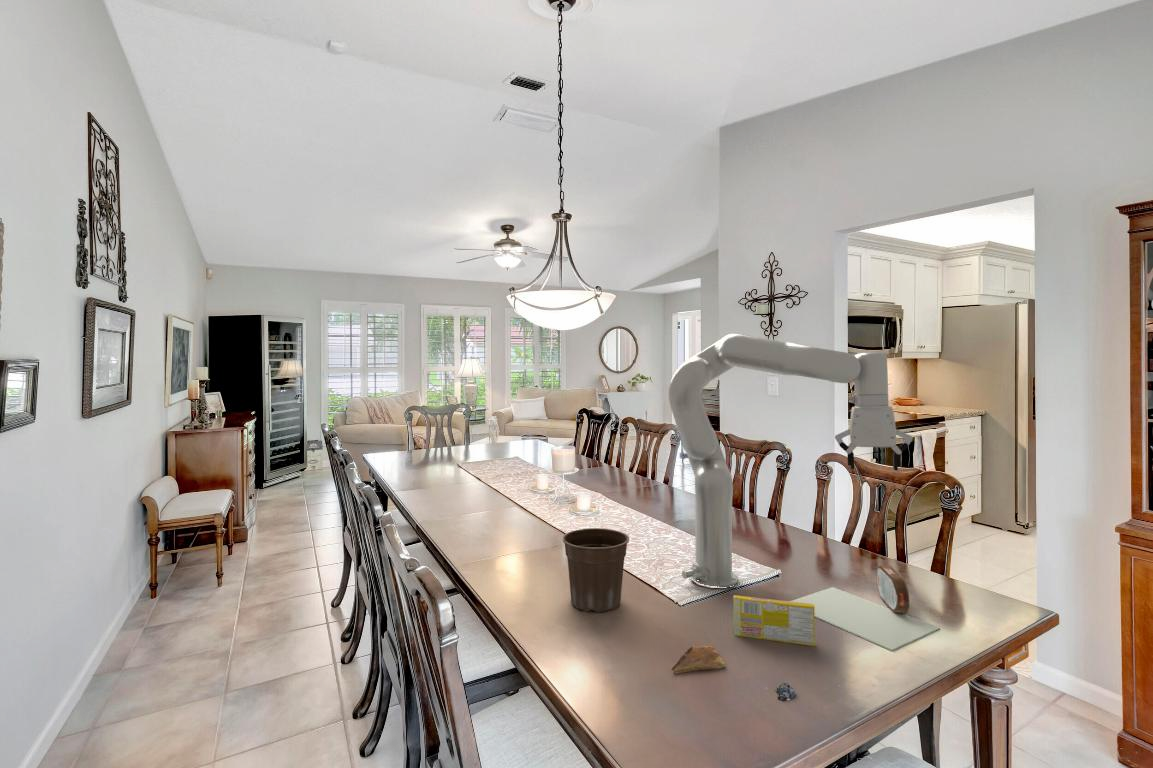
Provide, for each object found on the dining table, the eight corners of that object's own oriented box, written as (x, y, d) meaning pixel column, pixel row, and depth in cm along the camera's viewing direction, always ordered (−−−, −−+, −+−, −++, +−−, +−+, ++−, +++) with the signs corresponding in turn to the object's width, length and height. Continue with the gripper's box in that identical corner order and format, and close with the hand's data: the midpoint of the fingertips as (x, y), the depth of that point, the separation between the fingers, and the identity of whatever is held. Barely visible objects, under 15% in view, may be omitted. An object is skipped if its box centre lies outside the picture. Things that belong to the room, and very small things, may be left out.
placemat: (891, 651, 113) (891, 649, 113) (785, 604, 136) (785, 602, 136) (940, 628, 122) (940, 627, 122) (832, 588, 145) (832, 587, 145)
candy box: (814, 642, 117) (814, 603, 117) (815, 647, 115) (815, 607, 115) (733, 631, 123) (733, 593, 122) (733, 635, 121) (733, 597, 120)
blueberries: (761, 705, 98) (761, 695, 97) (763, 677, 105) (763, 668, 105) (803, 714, 95) (803, 704, 95) (802, 684, 103) (802, 675, 102)
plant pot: (595, 583, 150) (594, 523, 149) (643, 601, 138) (642, 536, 138) (549, 602, 138) (548, 537, 138) (597, 623, 127) (596, 552, 126)
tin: (910, 619, 126) (911, 582, 126) (894, 618, 127) (896, 580, 127) (887, 594, 141) (888, 560, 141) (873, 593, 141) (874, 559, 141)
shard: (671, 676, 106) (671, 667, 106) (659, 655, 114) (659, 647, 113) (726, 671, 108) (726, 662, 108) (710, 651, 115) (710, 642, 115)
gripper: (833, 403, 142) (836, 470, 142) (913, 401, 135) (915, 473, 135) (833, 400, 149) (835, 465, 149) (909, 399, 141) (911, 467, 142)
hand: (873, 468), depth 142 cm, fingers open, 9 cm apart
